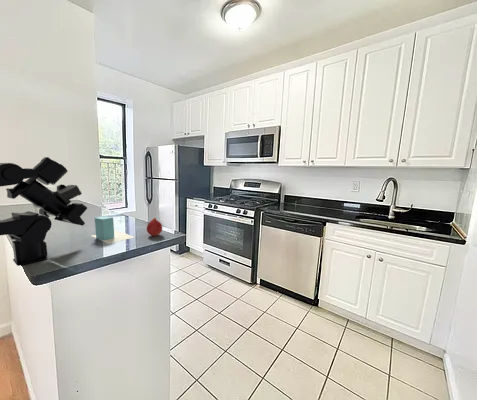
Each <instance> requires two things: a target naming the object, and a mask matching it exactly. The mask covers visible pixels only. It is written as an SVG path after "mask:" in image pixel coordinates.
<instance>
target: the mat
mask: <svg viewBox="0 0 477 400" xmlns="http://www.w3.org/2000/svg"><path fill="white" fill-rule="evenodd" d="M91 237H92V238H95V239H96V234H93V235H91ZM134 238H135V236H133V235H130V234H128V233H125V232H122V231H119V230H114V238H112V239H108V240H100V239H98V240H99V241H102V242H104V243H106V244H109V245H110V244H114V243H117V242H122V241H126V240H130V239H134Z"/></svg>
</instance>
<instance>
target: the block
mask: <svg viewBox="0 0 477 400" xmlns="http://www.w3.org/2000/svg"><path fill="white" fill-rule="evenodd" d="M94 225H95V228H94V229H95V235H96V238H95V239H97V240H99V239H100V240H99V241H101V240H108V239H112V238H114V231H115V227H114V225H115V224H114V217H113V216H106V215H104V216H103V215H102V216H98V217H94Z"/></svg>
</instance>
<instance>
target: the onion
mask: <svg viewBox="0 0 477 400" xmlns="http://www.w3.org/2000/svg"><path fill="white" fill-rule="evenodd" d="M162 231H163V225H162V223H161V222H160V221H159V220H158V219H157V218H156V217H153V218H152V219H151V220H150V221H148V224H147V225H146V232H147V234H149V235H150V236H152V237H157V236H159V235H160V234H161V233H162Z"/></svg>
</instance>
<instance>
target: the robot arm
mask: <svg viewBox="0 0 477 400" xmlns="http://www.w3.org/2000/svg"><path fill="white" fill-rule="evenodd" d="M67 173H68V169H67V167H65V166H64V165H63V164H62V163H59V162H57V161H56V160H54V159H51V158H50V157H49V156H46V157H45V156H44V157H43V158H42V159H41V160H40V162H38V163H37V164H36V165H34V167H33V168H31V167H30V168H28V167H27V168H22V167H21V166H20V165H18V164H16V163H13V162H0V187H7V186H13V187H12V188H6V189H5V190H6V193H7V194H6V197H7V198H8V199H12V200H13V199H17V197H19V196H20V197H22V198H24V199H25V200H26V201H28V202H30V203H31V204H32V205H33V206H34V207H35V208H39V210H38V211H39V212H33V211H29V210H27V211H25V212H11V217H9V218H5V219H2V220H1V219H0V236H7V235H8V237H9V238H10V239H11V240H12V242H11V245H12V251H13V256H14V257H13V259H12V261H13V262H14V264H15V265H16V266H17V267H19V266H20V267H21V266H23V265H24V266H25V265H28V264H32V263H36V262H40V261H44V260H48V248H47V247H48V246H47V242H46V241H45V240H46V238H47V237H46V236H47V234H48V232H49V231H50V230H51V228H52V220H51V219H50V218H49V217H51V216H52V217H54V220H55V221H59V222H63V223H69V224H73V225H78V226H85V221H84V220H83V218H81V216H82V215H83V214H85V212H86V210H87V209H88V207H87V205H85V204H84V203H80V202H72V200H73V199H74V198H76V197H78V196H81V195H83V194H82V191H81V190H80V188H79V186H78V185H76V184H67V185H65V184H61V183H60V184H59V185H57V186H56V190H55V191H54V190H53V191H52V190H51V189H49V188H48V187H47V186H49V185H52V186H54V185H56V183H57V182H59V181H60V180H61V179H62V178H63V177H65V175H66V174H67ZM26 179H27V180H26ZM24 180H25V181H24Z"/></svg>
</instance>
